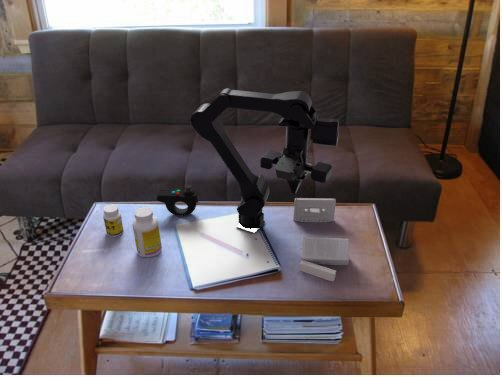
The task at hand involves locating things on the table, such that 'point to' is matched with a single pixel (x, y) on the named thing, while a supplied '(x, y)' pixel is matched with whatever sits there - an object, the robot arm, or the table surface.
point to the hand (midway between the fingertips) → (294, 193)
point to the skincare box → (325, 250)
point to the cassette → (307, 215)
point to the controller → (179, 200)
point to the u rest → (317, 270)
